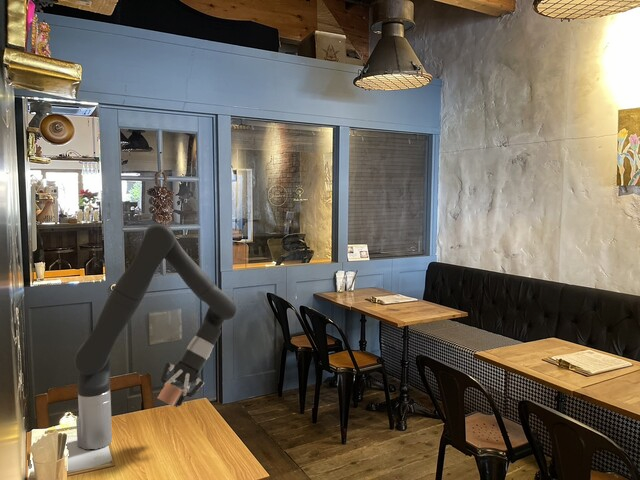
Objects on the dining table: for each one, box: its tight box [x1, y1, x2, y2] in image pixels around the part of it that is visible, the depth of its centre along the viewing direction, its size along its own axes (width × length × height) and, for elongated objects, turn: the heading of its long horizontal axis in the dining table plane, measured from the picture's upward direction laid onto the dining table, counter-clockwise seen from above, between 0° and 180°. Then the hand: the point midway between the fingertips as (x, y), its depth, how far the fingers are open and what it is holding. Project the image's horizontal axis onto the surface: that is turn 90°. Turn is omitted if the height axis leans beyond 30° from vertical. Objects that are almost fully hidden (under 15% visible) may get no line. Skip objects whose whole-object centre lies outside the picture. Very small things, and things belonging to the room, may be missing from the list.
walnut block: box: [156, 383, 183, 408], centre depth 153 cm, size 5×5×12 cm
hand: (168, 402), depth 152 cm, fingers closed on walnut block, 5 cm apart
